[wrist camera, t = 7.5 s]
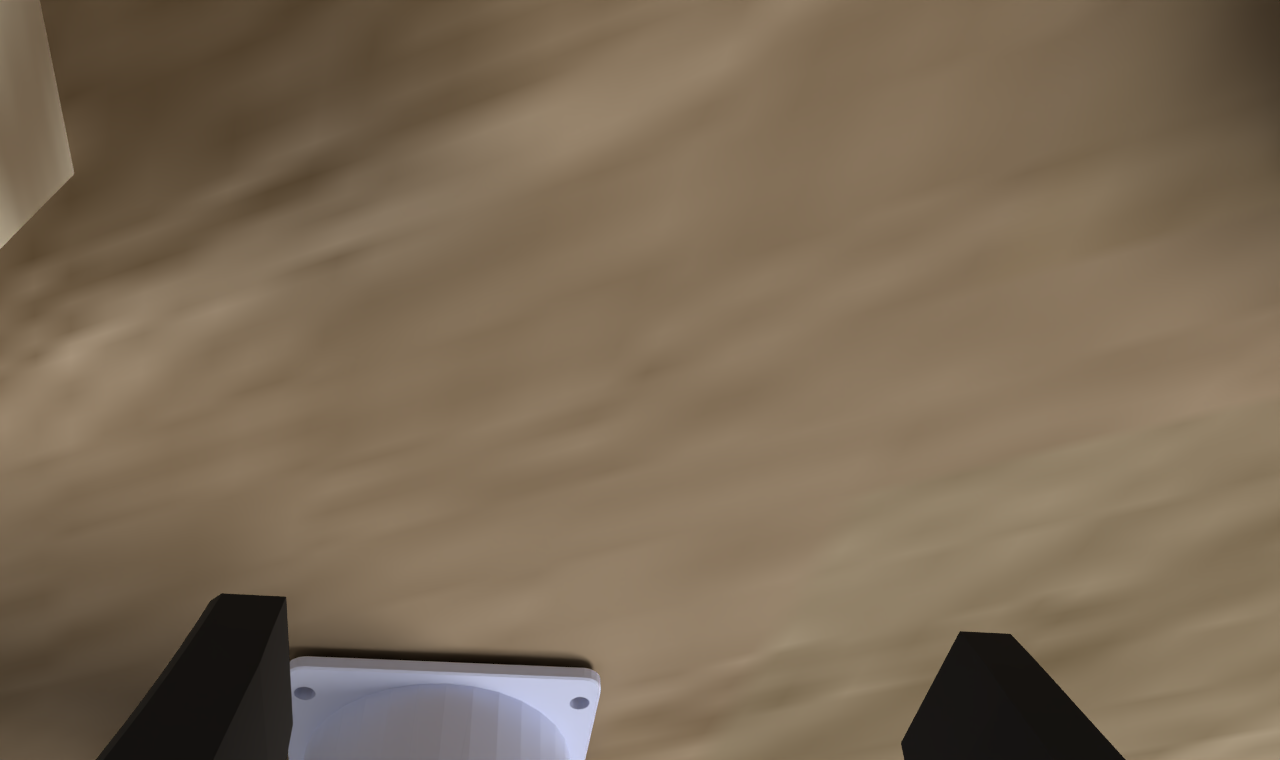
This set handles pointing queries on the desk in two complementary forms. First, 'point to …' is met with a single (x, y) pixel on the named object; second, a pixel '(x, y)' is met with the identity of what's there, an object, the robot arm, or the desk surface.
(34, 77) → the birch base block
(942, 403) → the desk surface
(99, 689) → the desk surface
